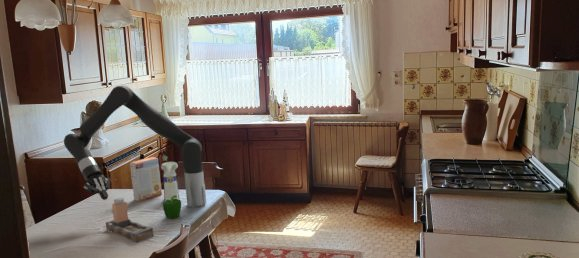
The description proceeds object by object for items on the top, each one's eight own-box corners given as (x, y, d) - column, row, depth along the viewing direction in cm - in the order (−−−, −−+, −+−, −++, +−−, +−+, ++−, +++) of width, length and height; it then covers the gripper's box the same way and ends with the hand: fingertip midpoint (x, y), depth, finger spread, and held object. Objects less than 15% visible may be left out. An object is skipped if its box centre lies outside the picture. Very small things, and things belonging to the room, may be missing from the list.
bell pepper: (165, 221, 205) (163, 200, 203) (163, 215, 212) (161, 195, 211) (183, 218, 208) (181, 197, 206) (180, 212, 215) (179, 192, 214)
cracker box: (155, 193, 249) (152, 156, 246) (162, 194, 245) (158, 157, 242) (133, 199, 238) (129, 161, 235) (139, 201, 235) (135, 163, 231)
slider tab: (112, 225, 196) (109, 200, 194) (124, 221, 200) (121, 196, 198) (118, 228, 193) (115, 202, 191) (130, 223, 197) (127, 198, 195)
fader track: (106, 229, 197) (105, 222, 197) (123, 224, 204) (122, 216, 203) (136, 242, 182) (135, 234, 182) (153, 235, 188) (152, 227, 188)
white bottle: (181, 200, 234) (177, 153, 230) (164, 202, 232) (159, 155, 228) (180, 195, 242) (176, 150, 238) (163, 197, 240) (159, 152, 236)
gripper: (77, 167, 201) (93, 198, 195) (105, 161, 211) (121, 190, 205) (73, 176, 205) (89, 207, 199) (101, 170, 215) (117, 199, 209)
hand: (105, 198), depth 202 cm, fingers closed
